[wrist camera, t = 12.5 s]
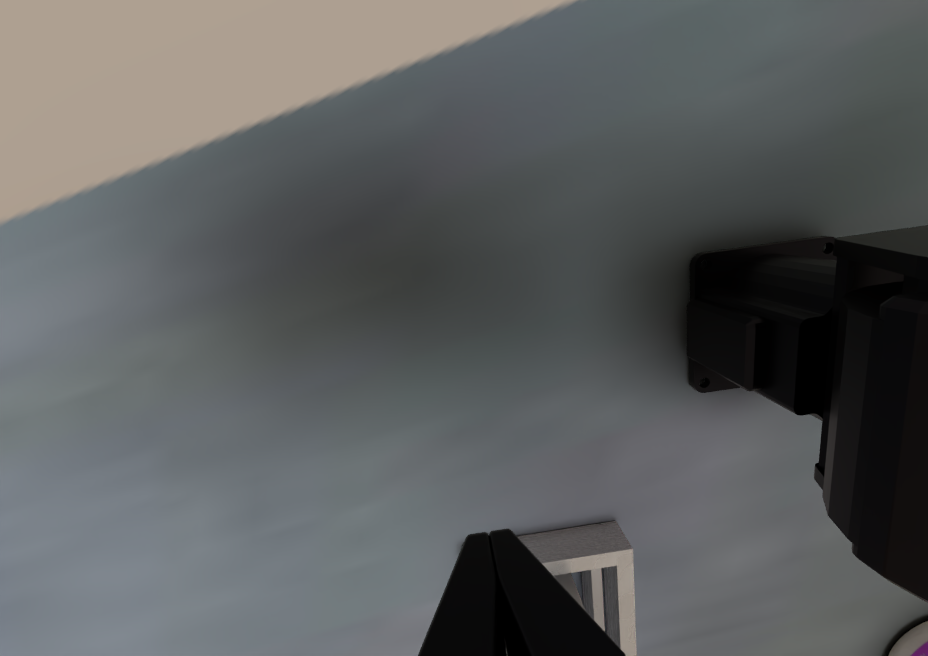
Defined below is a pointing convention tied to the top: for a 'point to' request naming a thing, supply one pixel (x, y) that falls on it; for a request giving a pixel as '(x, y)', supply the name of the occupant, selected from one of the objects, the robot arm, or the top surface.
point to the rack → (595, 573)
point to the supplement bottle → (912, 642)
